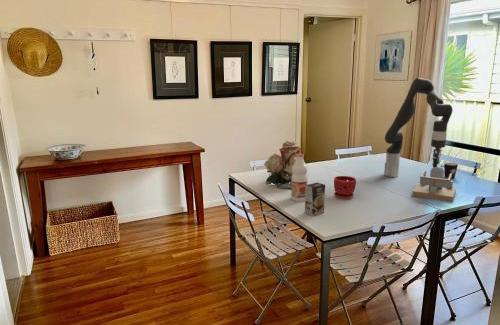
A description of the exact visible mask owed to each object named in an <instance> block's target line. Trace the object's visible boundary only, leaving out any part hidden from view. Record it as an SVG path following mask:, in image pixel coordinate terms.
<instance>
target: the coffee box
mask: <svg viewBox="0 0 500 325" xmlns="http://www.w3.org/2000/svg"><path fill="white" fill-rule="evenodd" d="M325 194H326V184H324V183H321V182H313V183H310V184H307V185H306V193H305V201H304V213H305V214H307V215H309V216H311V217H315V216H317V215H320V214H324V213H325V199H326V197H325V196H326V195H325Z"/></svg>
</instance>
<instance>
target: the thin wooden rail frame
mask: <svg viewBox="0 0 500 325" xmlns="http://www.w3.org/2000/svg"><path fill="white" fill-rule="evenodd" d="M451 177H452V173H450V175H449V178H443V179H441V178H433V177H430V176H427V170H426V169H425V170H424V171H422V174H421V175H420V176H419V183H420V184H421V185H428V186H436V187H443V188H448V187H449V182H450V181H452V179H451Z"/></svg>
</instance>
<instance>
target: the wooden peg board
mask: <svg viewBox="0 0 500 325" xmlns="http://www.w3.org/2000/svg"><path fill="white" fill-rule="evenodd" d="M440 166H441V165H437V167H433V166H432V167H431V169H430V172H429V173H430V174H429V177H433V178H441V179H445V174H444V167H443V166H442V167H440ZM453 184H454V180H451V181H450V182H449V187H448V188H443V187H436V186H428V185H421V184H420V181H419V182H417V184H416V185H415V187H414V188H413V189H412V192H411V193H412V196H413V197H418V198H419V197H420V198H424V199H425V198H426V199H432V200H438V201H444V202H453V201H454V198H455V195H456V192H457V187H455V186H453Z"/></svg>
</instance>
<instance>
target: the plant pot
mask: <svg viewBox="0 0 500 325" xmlns="http://www.w3.org/2000/svg"><path fill="white" fill-rule="evenodd" d="M356 185H357V179H356V178H355V177H353V176H347V175H339V176H338V175H337V176H334V178H333V187H334V191H335V192H334V193H333V194H334V196H335V197H336V198H338V199H342V200H350V199H352V198H354V195H355V194H354V193H355V189H356Z"/></svg>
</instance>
